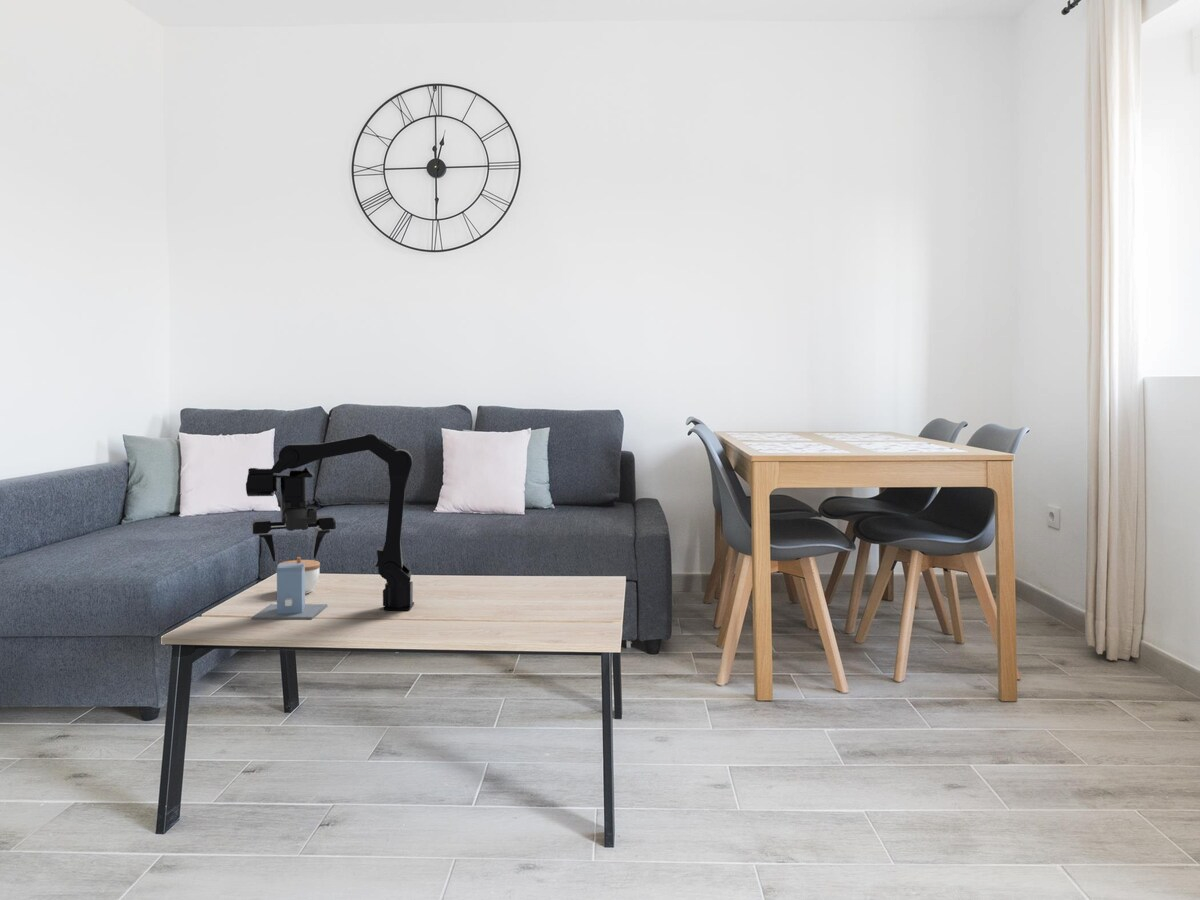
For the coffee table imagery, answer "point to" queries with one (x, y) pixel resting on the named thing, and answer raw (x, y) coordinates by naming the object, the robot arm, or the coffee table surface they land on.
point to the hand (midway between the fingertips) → (294, 559)
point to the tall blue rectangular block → (290, 588)
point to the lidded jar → (308, 572)
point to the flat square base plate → (307, 613)
